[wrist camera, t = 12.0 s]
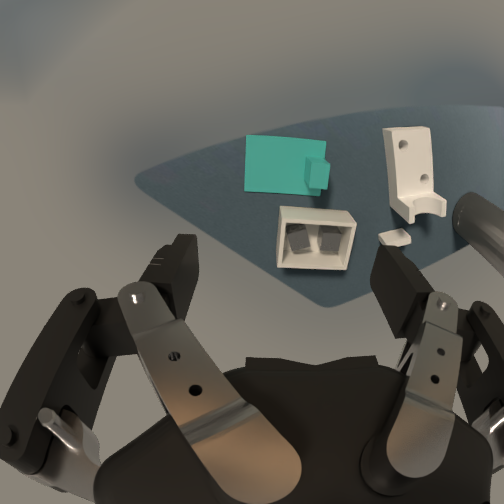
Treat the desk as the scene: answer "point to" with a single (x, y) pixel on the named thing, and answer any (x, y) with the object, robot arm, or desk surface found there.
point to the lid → (285, 165)
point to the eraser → (395, 237)
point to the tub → (314, 238)
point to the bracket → (411, 172)
